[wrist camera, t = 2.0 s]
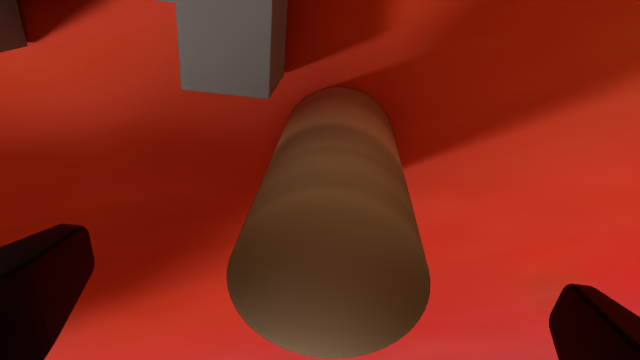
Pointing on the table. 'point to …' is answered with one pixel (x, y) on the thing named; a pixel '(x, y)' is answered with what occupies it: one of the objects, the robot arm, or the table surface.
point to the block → (209, 43)
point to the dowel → (331, 235)
